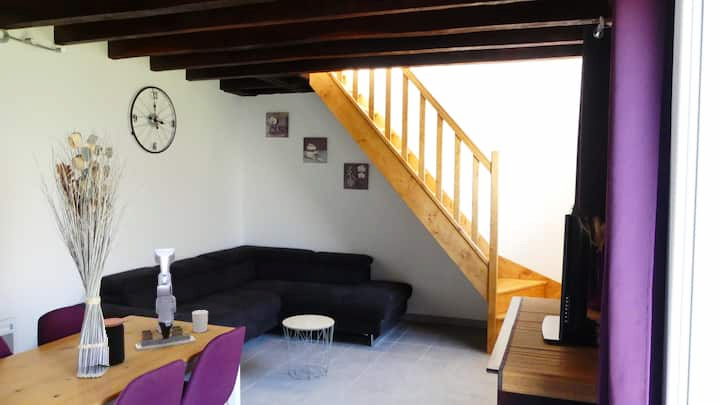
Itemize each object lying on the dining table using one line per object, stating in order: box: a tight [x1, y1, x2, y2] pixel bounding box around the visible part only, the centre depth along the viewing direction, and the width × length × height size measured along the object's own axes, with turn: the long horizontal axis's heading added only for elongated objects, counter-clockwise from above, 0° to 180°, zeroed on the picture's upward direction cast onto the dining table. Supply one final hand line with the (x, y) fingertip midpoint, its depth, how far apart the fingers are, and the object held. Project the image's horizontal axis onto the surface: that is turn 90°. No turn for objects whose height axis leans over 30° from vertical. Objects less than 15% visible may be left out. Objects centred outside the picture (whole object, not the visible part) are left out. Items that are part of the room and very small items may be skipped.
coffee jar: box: [103, 317, 126, 367], centre depth 228 cm, size 11×11×18 cm
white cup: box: [191, 309, 209, 334], centre depth 275 cm, size 8×8×10 cm
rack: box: [140, 324, 184, 342], centre depth 260 cm, size 6×19×5 cm, turn 121°
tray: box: [134, 335, 196, 352], centre depth 253 cm, size 7×26×1 cm, turn 121°
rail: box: [140, 333, 191, 347], centre depth 252 cm, size 3×22×3 cm
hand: (165, 337), depth 253 cm, fingers open, 3 cm apart
